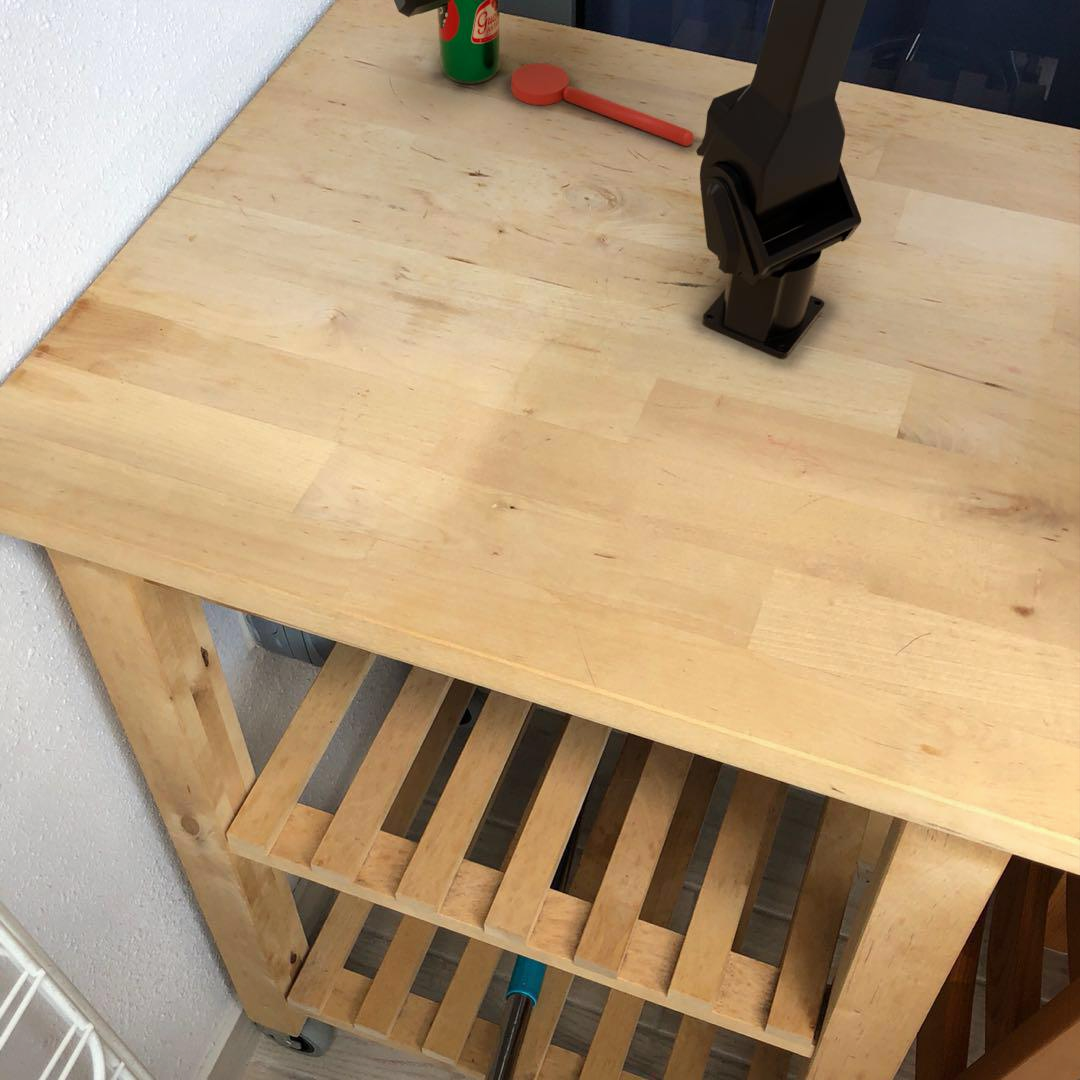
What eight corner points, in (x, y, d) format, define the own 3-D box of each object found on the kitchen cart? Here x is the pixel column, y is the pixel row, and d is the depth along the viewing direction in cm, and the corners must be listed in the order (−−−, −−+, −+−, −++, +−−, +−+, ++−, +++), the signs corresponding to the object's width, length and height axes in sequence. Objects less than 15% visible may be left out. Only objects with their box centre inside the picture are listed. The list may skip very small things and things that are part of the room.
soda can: (485, 92, 99) (481, -52, 90) (430, 79, 101) (421, -65, 91) (509, 63, 102) (508, -80, 93) (456, 50, 103) (450, -93, 94)
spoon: (706, 132, 96) (708, 119, 95) (677, 161, 94) (678, 148, 93) (531, 67, 102) (532, 54, 101) (500, 93, 99) (499, 80, 98)
